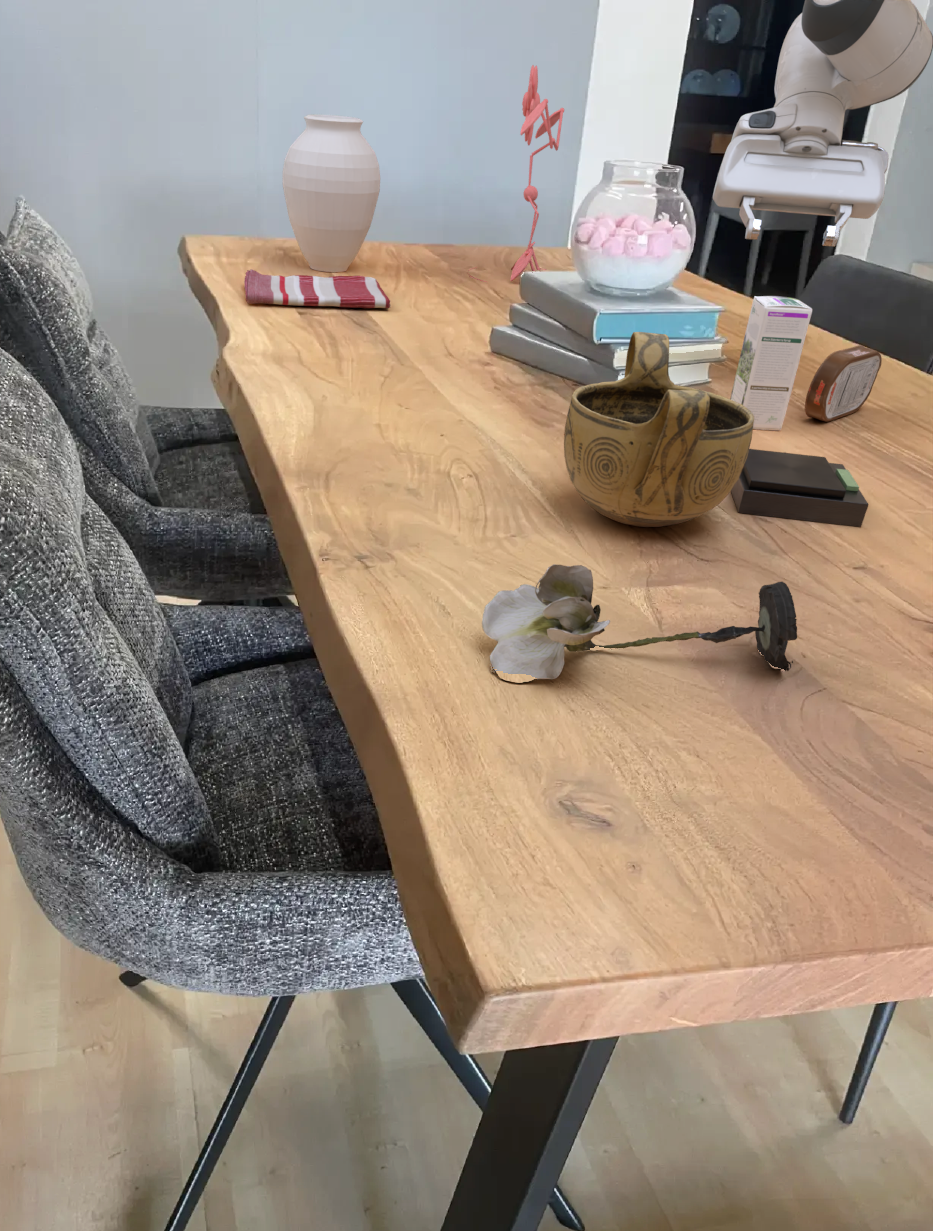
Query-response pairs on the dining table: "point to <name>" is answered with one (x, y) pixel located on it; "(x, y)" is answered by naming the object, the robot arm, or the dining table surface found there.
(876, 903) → the dining table surface
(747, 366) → the syrup box
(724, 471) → the ceramic bowl
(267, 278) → the dish towel
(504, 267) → the dining table surface
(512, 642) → the artificial flower
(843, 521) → the scale
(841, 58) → the robot arm
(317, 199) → the vase
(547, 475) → the dining table surface
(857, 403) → the tin
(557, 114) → the figurine
